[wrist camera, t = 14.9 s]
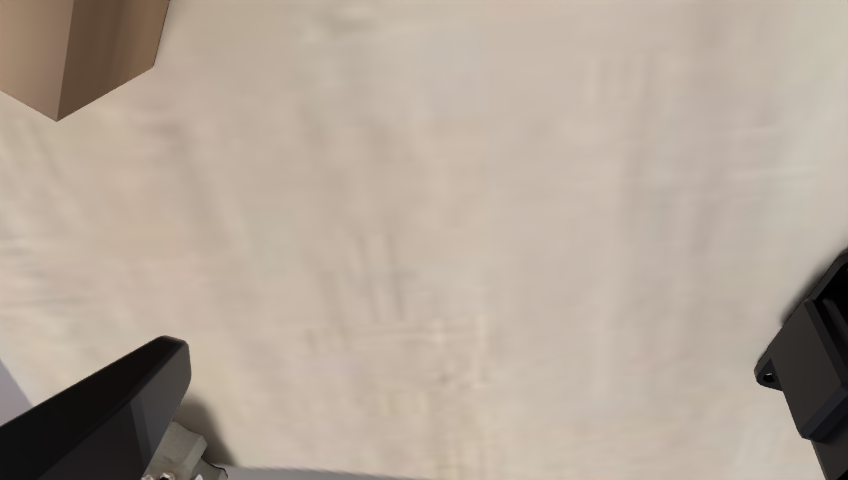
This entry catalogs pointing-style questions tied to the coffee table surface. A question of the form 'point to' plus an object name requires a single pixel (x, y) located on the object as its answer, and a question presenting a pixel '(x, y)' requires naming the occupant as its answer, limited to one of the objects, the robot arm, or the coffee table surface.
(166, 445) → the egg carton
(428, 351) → the coffee table surface
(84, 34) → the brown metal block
